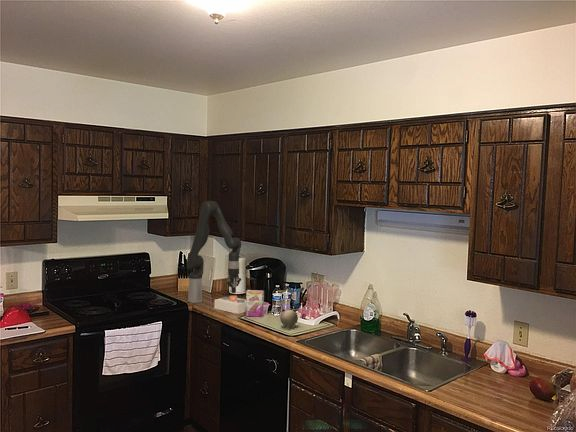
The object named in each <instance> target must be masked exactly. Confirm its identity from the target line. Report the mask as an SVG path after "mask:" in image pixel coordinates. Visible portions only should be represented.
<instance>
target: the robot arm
mask: <svg viewBox="0 0 576 432" xmlns="http://www.w3.org/2000/svg"><path fill="white" fill-rule="evenodd" d="M210 215H213V216H214V217H215V219H216V221H217V228H218V231H219V232H220V234H221V235H222V237H223V240H224V243H225V245H226V247H227V248H228V249H232V250H231V251H230V252H229V253H228V265H227V275H228V278H227V279H225V282H226V284H227V285H228V287H230V288H231V290H230V291H231V293H232V294H236V292H237V287H239V285H240V282H241V281H242V278H241V277H240V253H241V248H242V240H241V239H240V238H239V237H233V234H234V232H233V230H232V229H231V227H230V226H229V224H228V222H227V221H226V219H225V217H224V215H223V213H222V211H221V208H220V206H219V204H218V203H217V201H214V200H205V201H203V202H202V204H201V207H200V211H199V217H198V222H197V227H196V230H195V234H194V237H193V241H192V245H191V248H190V251H189V253H188V255H187V259H186V266H187V268H188V269H189V270H192V272H190V273H189V274H188V288H187V299H188V300H187V302H189V303H192V304H198V303H202V302H203V275H204V267H205V265H204V263H205V262H204V261H205V260H204V258H203V256H202V255H199V254H200V251H201V250H202V249H203V248H204V247H205V245H206V244H207V242H208V238H209V235H210V229H209V228H210V227H209V225H208V224H209V223H208V220H209V217H210Z"/></svg>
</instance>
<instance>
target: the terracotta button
mask: <svg viewBox="0 0 576 432" xmlns="http://www.w3.org/2000/svg"><path fill="white" fill-rule="evenodd" d="M229 296H230V301H232V302H235V301H237V298H238V295H237V294H236V295H235V294H233V295H232V294H231V295H229Z"/></svg>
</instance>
